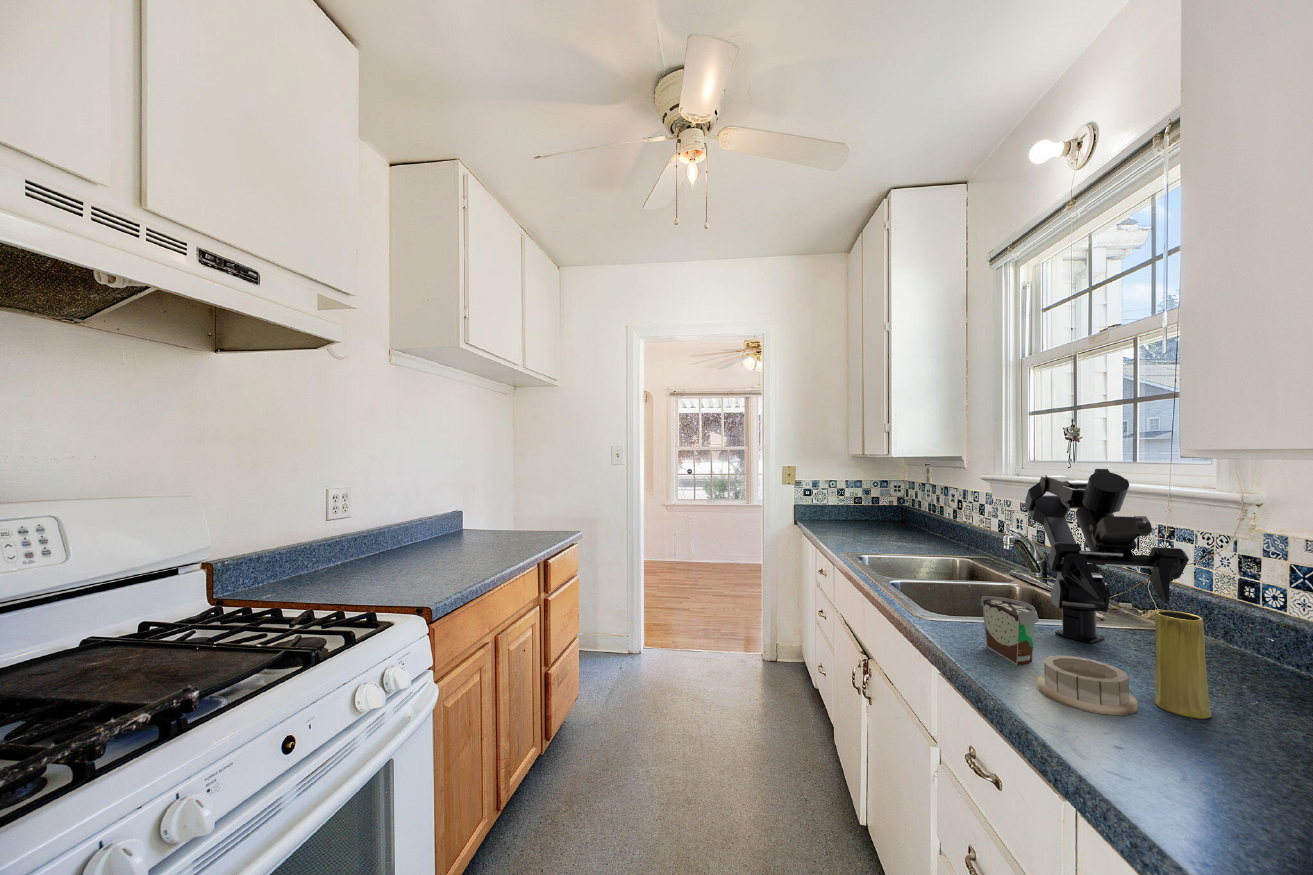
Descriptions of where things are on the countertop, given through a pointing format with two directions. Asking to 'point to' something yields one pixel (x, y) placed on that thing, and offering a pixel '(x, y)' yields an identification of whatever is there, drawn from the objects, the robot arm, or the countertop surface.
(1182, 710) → the vase
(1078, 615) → the robot arm
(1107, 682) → the collar stand
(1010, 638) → the food container
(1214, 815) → the countertop surface
